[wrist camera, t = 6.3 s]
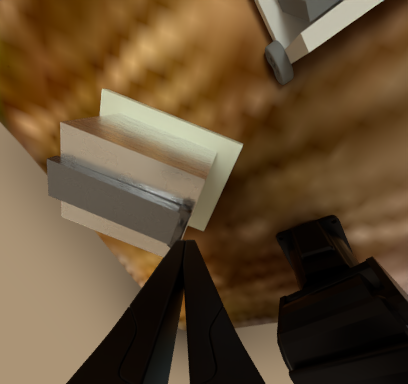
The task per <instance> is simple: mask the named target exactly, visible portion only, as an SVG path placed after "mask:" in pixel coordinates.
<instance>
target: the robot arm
mask: <svg viewBox="0 0 408 384" xmlns="http://www.w3.org/2000/svg"><path fill="white" fill-rule="evenodd" d="M334 219H335V220H334ZM332 220H334V221H332ZM279 237H282V238H279ZM276 238H277V241H278V243H279V245H280V246H281V248H282V250H283V252H284V254H285V255H286V257H287V259H288V261H289V263H290V265H291V266H292V268H293V270H294V273H295V276H296V279H297V283H298V286H299V289H300V290H299V291H297V292H295V293H293V294H290V295H288V296H283V297H281V298H280V304H279V316H278V327H277V343H278V346H279V348H280V352H281V354H282V357H283V360H284V362H285V364H286V366H287V368H288V369H289V376H290V378H291V380H292V381H293V383H294V384H408V295H407V294H406V292H405V291H404V290H403V289H402V288H401V287H400V286H399V285H398V283H397V282H396V281H395V280H394V279H393V278H392V277H391V276H390V275H389V274H388V273H387V272H386V270H385V269H384V268H383V267H382V266H381V265H380V264H379V263H378V262H377V261H376V260H375V259H374V258H373V256H372V257H370V258H368V259H366V261H364V262H362V263H360V264H359V262H358V261H357V259H356V258H355V256H354V255H353V253H352V251H351V248H350V246H349V243H348V241H347V238H346V236H345V233H344V231H343V228H342V226H341V223H340V221H339V219H338V218H337V216H334V215H332V216H328V217H325V218H322V219H319V220H317V221H313V222H310V223H307V224H304V225H301V226H299V227H296V228H293V229H290V230H287V231H284V232H281V233H278V234H277V235H276ZM183 294H184V295H185V311H186V327H187V344H188V360H189V376H190V384H265V382H264V380H263V378H262V377H261V375H260V373H259V372H258V370H257V368H256V367H255V365H254V363H253V361H252V360H251V358H250V356H249V355H248V353H247V351H246V350H245V348H244V346H243V344H242V342H241V340H240V339H239V337H238V335H237V333H236V331H235V329H234V327H233V325H232V323H231V321H230V318H229V316H228V314H227V312H226V310H225V308H224V305H223V303H222V301H221V298H220V296H219V294H218V292H217V289H216V287H215V285H214V283H213V280H212V278H211V276H210V273H209V271H208V269H207V267H206V264H205V262H204V260H203V258H202V255H201V253H200V251H199V248H198V246H197V244H196V242H195V240H186V242H185V240H176V241H175V242H174V244H173V245H172V247H171V248H170V249H169V251H168V252H167V254H166V255H165V256H164V258H163V259H162V261H161V262H160V263H159V265H158V266H157V268H156V269H155V270H154V272H153V273H152V275H151V276H150V277H149V279H148V280H147V282H146V283H145V284H144V286H143V287H142V289H141V290H140V291H139V293H138V294H137V296H136V297H135V299H134V300H133V301H132V303H131V304H130V307H128V308H127V310H126V311H125V313H124V314H123V316H122V317H121V318H120V319H119V321H118V322H117V323H116V325H115V326H114V327H113V329H112V330H111V331H110V332H109V334H108V335H107V336H106V337H105V339H104V340H103V341H102V342H101V343H100V345H99V346H98V347H97V348H96V349H95V351H94V352H93V353H92V354H91V355H90V356H89V358H88V359H87V360H86V361H85V362H84V363H83V365H82V366H81V367H80V368H79V369H78V370H77V372H76V373H75V374H74V375H73V376H72V377H71V379H70V380H69V381H68V382H67V383H66V384H168V380H169V374H170V369H171V362H172V357H173V351H174V345H175V339H176V334H177V328H178V323H179V317H180V311H181V306H182V300H183Z"/></svg>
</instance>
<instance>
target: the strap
mask: <svg viewBox="0 0 408 384" xmlns="http://www.w3.org/2000/svg"><path fill="white" fill-rule="evenodd" d="M47 172H48V193H49V196H51V197H54V198H56V199H59V200H61V201H63V202H66V203H68V204H71V205H73V206H76V207H78V208H80V209H83V210H85V211H88V212H90V213H93V214H95V215H97V216H100V217H102V218H105V219H107V220H110V221H112V222H114V223H117V224H119V225H122V226H124V227H127V228H129V229H131V230H134V231H136V232H139V233H141V234H144V235H146V236H149V237H151V238H153V239H156V240H158V241H161V242H163V243H166V244H167V246H168V247H169V248H171V247H172V245H173V244H174V242H175V241H176V240H181V238H182V236H183V233H184V231H185V228H186V226H187V223H188V221H189V218H190V216H191V213H192V209H191V208H190V207H189V206H186V205H181V206H179V205H177V204H174V203H172V202H169V201H167V200H164V199H162V198H159V197H157V196H155V195H152V194H150V193H147V192H145V191H142V190H140V189H137V188H135V187H133V186H130V185H128V184H125V183H123V182H120V181H118V180H115V179H113V178H111V177H108V176H106V175H103V174H101V173H98V172H96V171H93V170H91V169H89V168H86V167H84V166H81V165H79V164H76V163H74V162H72V161H69V160H67V159H64V158H62V157H59V156H54V157H51V158H48V159H47Z"/></svg>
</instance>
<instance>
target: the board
mask: <svg viewBox="0 0 408 384" xmlns="http://www.w3.org/2000/svg"><path fill="white" fill-rule="evenodd" d="M118 113H121V114H123V115H126V116H128V117H131V118H133V119H136V120H138V121H141V122H143V123H146V124H148V125H151V126H153V127H156V128H158V129H161V130H163V131H166V132H168V133H171V134H173V135H176V136H178V137H181V138H183V139H186V140H188V141H191V142H193V143H196V144H198V145H201V146H203V147H205V148H208V149H210V150H213V151H215V152H217V154H216V156H215V159H214V161H213V164H212V166H211V169H210V171H209V174H208V176H207V179H206V181H205V184H204V186H203V189H202V192H201V194H200V197H199V199H198V202H197V204H196V207H195V209H194V212H193V214H192V217H191V219H190V222H189V224H188V226H191V227H194V228H196V229H199V230H201V231H204V230H205V228H206V225H207V223H208V221H209V219H210V217H211V215H212V212H213V210H214V208H215V206H216V204H217V201H218V199H219V197H220V195H221V193H222V190H223V188H224V186H225V184H226V182H227V179H228V177H229V175H230V173H231V171H232V168H233V166H234V164H235V162H236V160H237V158H238V155H239V153H240V151H241V149H242V147H243V143H240V142H238V141H235V140H233V139H230V138H228V137H225V136H223V135H221V134H218V133H216V132H213V131H211V130H208V129H206V128H203V127H201V126H198V125H196V124H193V123H191V122H188V121H186V120H183V119H181V118H178V117H176V116H173V115H171V114H168V113H166V112H163V111H161V110H158V109H156V108H153V107H151V106H148V105H146V104H143V103H141V102H139V101H136V100H134V99H131V98H129V97H126V96H124V95H121V94H119V93H116V92H114V91H111V90H109V89H102V95H101V107H100V116H105V115H111V114H118Z"/></svg>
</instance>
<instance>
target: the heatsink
mask: <svg viewBox="0 0 408 384" xmlns="http://www.w3.org/2000/svg"><path fill="white" fill-rule="evenodd" d="M60 126H61V156H59V157H62V158H64V159H67V160H69V161H72V162H74V163H76V164H79V165H81V166H84V167H86V168H89V169H91V170H93V171H96V172H98V173H101V174H103V175H106V176H108V177H111V178H113V179H115V180H118V181H120V182H123V183H125V184H128V185H130V186H133V187H135V188H137V189H140V190H142V191H145V192H147V193H150V194H152V195H155V196H157V197H159V198H162V199H164V200H167V201H169V202H172V203H174V204H177V205H179V206H181V205H186V206H189V207H190V208H191V209H192V213H191V216H190V218H189V221H188V223H187V226H186V228H185V231H186V229H187V227H188V224H189V222H190V219H191V217H192V214H193V212H194V209H195V207H196V204H197V202H198V199H199V197H200V194H201V192H202V189H203V186H204V184H205V181H206V179H207V176H208V174H209V171H210V169H211V166H212V164H213V161H214V159H215V156H216V154H217V152H215V151H213V150H210V149H208V148H205V147H203V146H201V145H198V144H196V143H193V142H191V141H188V140H186V139H183V138H181V137H178V136H176V135H173V134H171V133H168V132H166V131H163V130H161V129H158V128H156V127H153V126H151V125H148V124H146V123H143V122H141V121H138V120H136V119H133V118H131V117H128V116H126V115H123V114H121V113H118V114H111V115H105V116H98V117H91V118H84V119H77V120H70V121H63V122H60ZM61 206H62V207H61V208H62V209H61V214H62V217H63V218H66V219H68V220H71V221H73V222H76V223H78V224H81V225H83V226H86V227H88V228H91V229H93V230H96V231H98V232H101V233H103V234H106V235H108V236H111V237H113V238H116V239H118V240H121V241H124V242H126V243H129V244H131V245H134V246H136V247H139V248H141V249H144V250H146V251H149V252H151V253H154V254H156V255H159V256H161V257H164V256H165V255H166V254H167V252H168V251H169V249H170V248H169V247H168V246H167V244H166V243H163V242H161V241H158V240H156V239H153V238H151V237H149V236H146V235H144V234H141V233H139V232H136V231H134V230H131V229H129V228H127V227H124V226H122V225H119V224H117V223H114V222H112V221H110V220H107V219H105V218H102V217H100V216H97V215H95V214H93V213H90V212H88V211H85V210H83V209H80V208H78V207H76V206H73V205H71V204H68V203H66V202H63V201H61ZM185 231H184V233H183V236H184V234H185ZM183 236H182V238H181V240H182V239H183Z"/></svg>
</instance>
